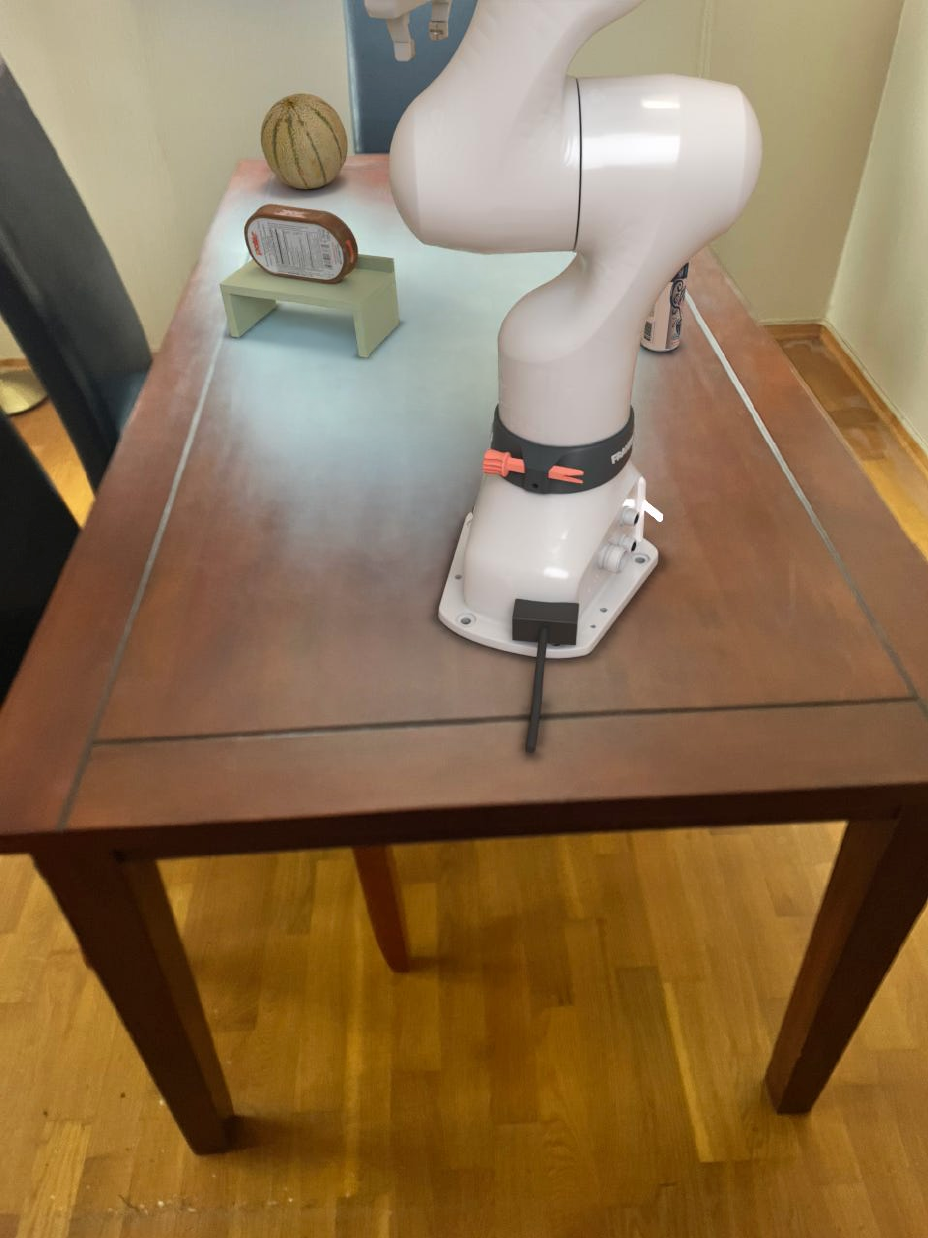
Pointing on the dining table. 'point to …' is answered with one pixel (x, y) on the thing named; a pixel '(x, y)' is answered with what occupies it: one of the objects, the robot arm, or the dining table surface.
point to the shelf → (318, 298)
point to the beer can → (666, 315)
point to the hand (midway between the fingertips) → (422, 49)
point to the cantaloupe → (304, 141)
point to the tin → (301, 243)
